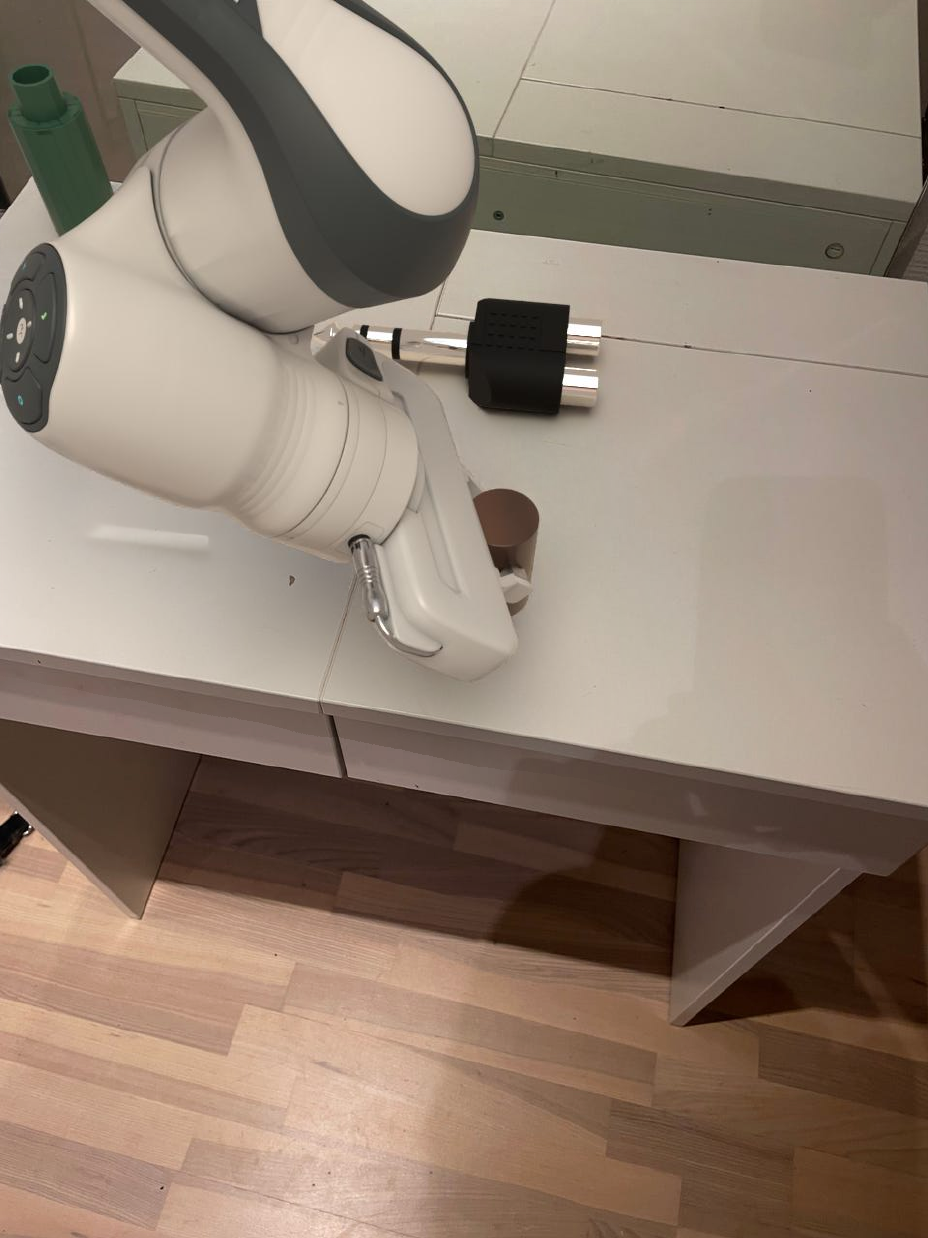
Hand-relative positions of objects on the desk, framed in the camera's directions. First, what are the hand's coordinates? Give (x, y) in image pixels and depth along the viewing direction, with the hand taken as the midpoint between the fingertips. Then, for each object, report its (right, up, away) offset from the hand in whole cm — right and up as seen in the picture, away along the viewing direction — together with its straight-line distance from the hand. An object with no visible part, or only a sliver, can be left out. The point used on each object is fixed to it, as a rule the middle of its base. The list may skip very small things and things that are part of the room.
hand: (508, 550), depth 55 cm
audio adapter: (-4, +18, +23) cm, 30 cm away
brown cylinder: (-1, -2, +4) cm, 4 cm away
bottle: (-40, +35, +33) cm, 63 cm away
